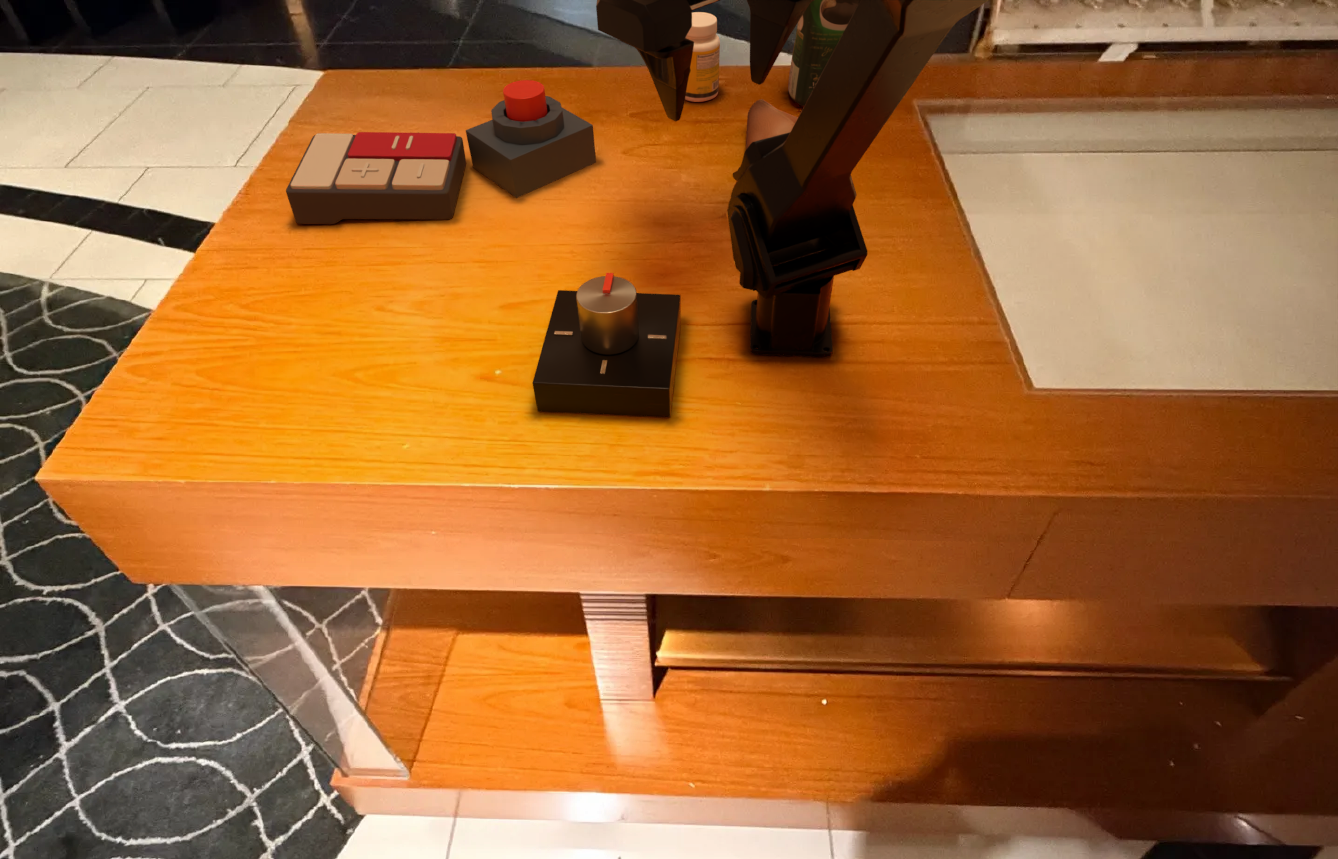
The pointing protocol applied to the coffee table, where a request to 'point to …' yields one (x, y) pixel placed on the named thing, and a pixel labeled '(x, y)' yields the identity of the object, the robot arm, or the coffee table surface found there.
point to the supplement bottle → (703, 58)
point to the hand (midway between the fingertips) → (716, 100)
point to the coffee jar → (816, 43)
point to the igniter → (531, 148)
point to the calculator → (377, 177)
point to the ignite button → (525, 100)
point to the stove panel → (610, 363)
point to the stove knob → (608, 314)
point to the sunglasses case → (767, 122)
